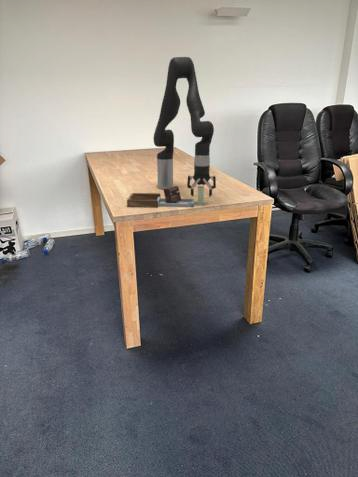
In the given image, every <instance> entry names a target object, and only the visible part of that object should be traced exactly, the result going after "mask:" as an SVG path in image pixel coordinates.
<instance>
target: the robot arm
mask: <svg viewBox="0 0 358 477" xmlns="http://www.w3.org/2000/svg"><path fill="white" fill-rule="evenodd" d="M166 76H167V77H166V84H165V88H164V94H163V98H162V103H161V107H160V112H159V117H158V121H157V123H156V127H155V130H154V133H153V144H154V145H155V147H158V148H164V147H165V148H164V149H163V150H161V151H160V152H158V153H157V154H156V162H157V163H156V164H157V165H156V167H157V168H156V170H157V189H159V190H163V189H164V188H168V187H172V186H174V146H175V135H174V134H175V133H174V132H173V130H172V129H167V127H168V126H169V124H171V123H172V122H173V121H174V120H175V119H176V117H177V116H178V113H179V110H180V107H181V98H180V95H179V93H178V90H177V82H178V80H179V79H186V81H187V83H188V84H187V85H188V90H187V94H186V107H187V111H188V113H189V115H190V129H191V132H192V135H194V137H196V138H201V140H200V141H198V142H196V143H195V145H194V149H195V150H194V158H193V159H194V161H193V164H194V165H193V166H194V167H193V168H194V170H193V175H190V174H189V175H187V184H186V187H187V189H190V196H191V197H193V198H194V191H195V190H194V189H195V187H196V186H197V185H198V186H201V185H202V186H205V185H206V187H207V188H208V197H210V198H211V196H213V190H214V189H216V188H217V187H216V185H217V182H216V181H217V180H216V178H217V177H216V175H210V165H211V164H210V163H211V161H210V160H211V159H210V156H211V155H210V154H211V153H210V149H211V148H210V147H211V143H212V140H213V136H214V132H215V131H214V130H215V128H214V125H213V124H214V123H212V122H211V121H209V120H205V121H202V120H201V118H203V117H205V114H206V111H205V108H204V105H203V102H202V100H201V97H200V91H199V87H198V86H199V85H198V81H197V80H198V79H197V74H196V69H195V64H194V61H193V59H192V58H191V57H190V56H176V57H172V58H171V59H170V61H169V64H168V68H167V75H166ZM192 180H194V182H193V183H192V185H191V181H192ZM210 180H211V181H212V185H211V184H210V182H209V181H210Z"/></svg>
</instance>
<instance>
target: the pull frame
mask: <svg viewBox="0 0 358 477" xmlns="http://www.w3.org/2000/svg"><path fill="white" fill-rule="evenodd" d="M204 191H205V185H202V186H201V185H198V186H197V201H195V199H194V198H181V200H180V201H177V202H173V203H167V202H166V199H165V197H163V198H162V197H161V198H160V197H158V199H157V200H158V208H159V207H165V208H167V207H169V208H171V207H172V208H193V207H194V206H204V196H205V195H204Z"/></svg>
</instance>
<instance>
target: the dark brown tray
mask: <svg viewBox="0 0 358 477" xmlns="http://www.w3.org/2000/svg"><path fill="white" fill-rule="evenodd" d="M161 195H162V194H161V193H155V192H154V193H151V192H148V193H147V192H132V193H131V194H130V195H129V196H128V198H127V199H126V207H127V208H156V209H157V208H159V207H158V200H157V199H158V197H160V198H162V197H161Z"/></svg>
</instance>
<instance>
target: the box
mask: <svg viewBox="0 0 358 477" xmlns="http://www.w3.org/2000/svg"><path fill="white" fill-rule="evenodd" d="M179 187H180V186H177V185H173V186H172V187H168V188H164V189H162V190H163V194H164V198H165V199H166V202H165V203H178V202H177V201H180V200H181V199H182V197H181V192H180V188H179Z"/></svg>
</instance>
